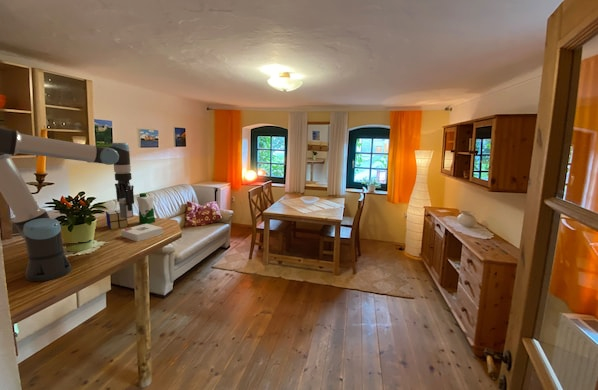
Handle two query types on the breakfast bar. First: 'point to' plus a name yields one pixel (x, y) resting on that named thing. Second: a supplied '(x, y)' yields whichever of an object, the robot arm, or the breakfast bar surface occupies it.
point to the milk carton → (145, 209)
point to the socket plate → (141, 232)
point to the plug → (123, 208)
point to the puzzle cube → (115, 220)
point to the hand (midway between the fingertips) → (126, 215)
